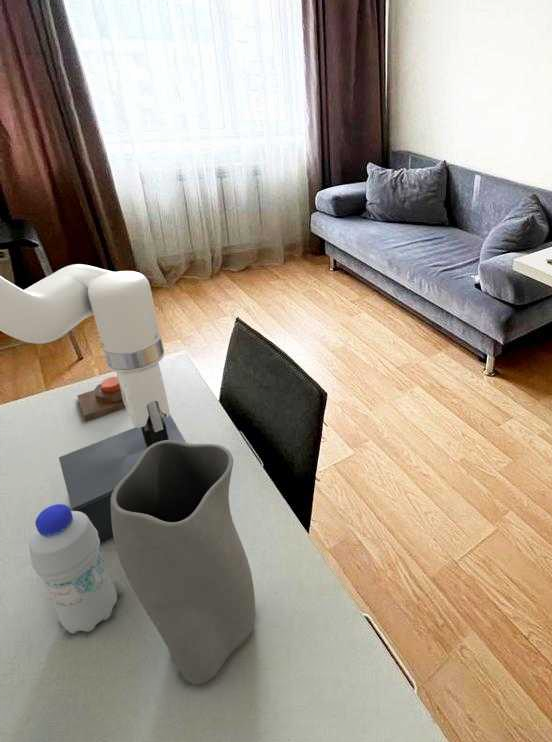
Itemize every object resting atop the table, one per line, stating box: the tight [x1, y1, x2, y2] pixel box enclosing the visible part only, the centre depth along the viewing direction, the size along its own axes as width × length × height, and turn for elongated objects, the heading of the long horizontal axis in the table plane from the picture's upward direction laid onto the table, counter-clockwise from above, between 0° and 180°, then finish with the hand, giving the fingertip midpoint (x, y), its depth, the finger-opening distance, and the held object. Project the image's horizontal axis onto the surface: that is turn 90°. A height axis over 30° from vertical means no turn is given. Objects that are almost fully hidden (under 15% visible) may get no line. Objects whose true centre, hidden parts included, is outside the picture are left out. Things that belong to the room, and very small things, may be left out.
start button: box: [100, 376, 120, 393], centre depth 103 cm, size 4×4×2 cm
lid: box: [58, 413, 187, 511], centre depth 80 cm, size 16×13×1 cm
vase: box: [111, 440, 257, 686], centre depth 59 cm, size 12×12×30 cm
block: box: [76, 383, 126, 422], centre depth 105 cm, size 12×8×4 cm, turn 132°
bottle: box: [28, 503, 118, 634], centre depth 63 cm, size 7×7×20 cm
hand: (157, 441), depth 83 cm, fingers closed
